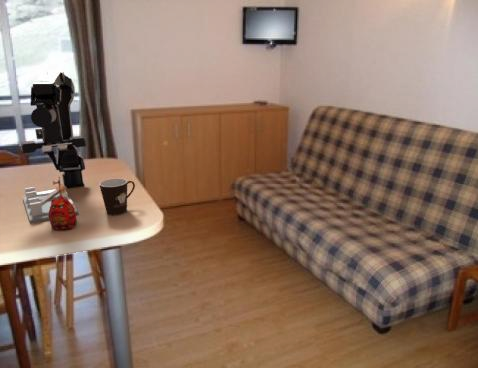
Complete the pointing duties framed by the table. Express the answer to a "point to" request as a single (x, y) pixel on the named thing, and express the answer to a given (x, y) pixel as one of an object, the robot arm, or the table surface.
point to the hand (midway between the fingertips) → (57, 170)
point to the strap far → (47, 193)
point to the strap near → (52, 195)
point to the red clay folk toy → (61, 212)
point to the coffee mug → (115, 195)
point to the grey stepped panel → (35, 208)
